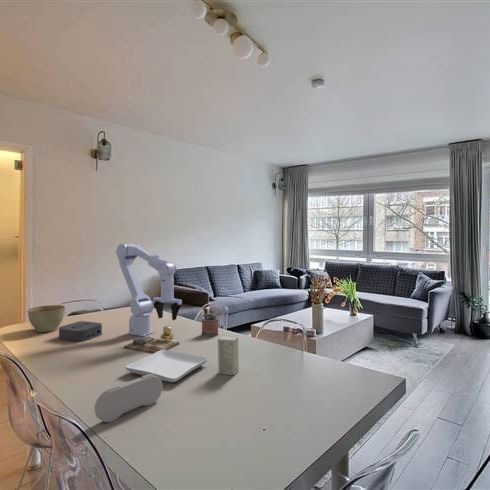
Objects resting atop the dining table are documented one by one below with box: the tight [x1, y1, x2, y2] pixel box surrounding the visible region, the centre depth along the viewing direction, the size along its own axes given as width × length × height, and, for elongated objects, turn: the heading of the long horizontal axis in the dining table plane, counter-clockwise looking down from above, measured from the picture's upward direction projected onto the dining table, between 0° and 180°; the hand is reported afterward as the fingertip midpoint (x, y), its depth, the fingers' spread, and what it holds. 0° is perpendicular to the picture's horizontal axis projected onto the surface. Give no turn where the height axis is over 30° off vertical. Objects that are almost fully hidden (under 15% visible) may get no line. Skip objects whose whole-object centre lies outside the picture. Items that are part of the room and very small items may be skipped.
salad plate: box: [124, 349, 209, 383], centre depth 125 cm, size 21×21×3 cm
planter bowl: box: [27, 304, 66, 333], centre depth 174 cm, size 16×16×11 cm
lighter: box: [201, 313, 219, 337], centre depth 168 cm, size 8×3×10 cm, turn 84°
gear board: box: [123, 335, 180, 354], centre depth 151 cm, size 18×14×2 cm
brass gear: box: [160, 325, 174, 340], centre depth 163 cm, size 6×6×5 cm
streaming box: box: [58, 320, 103, 343], centre depth 164 cm, size 14×14×5 cm
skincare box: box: [217, 335, 240, 376], centre depth 123 cm, size 6×4×12 cm
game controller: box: [94, 374, 163, 423], centre depth 96 cm, size 20×2×8 cm, turn 140°
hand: (167, 318), depth 162 cm, fingers open, 7 cm apart
